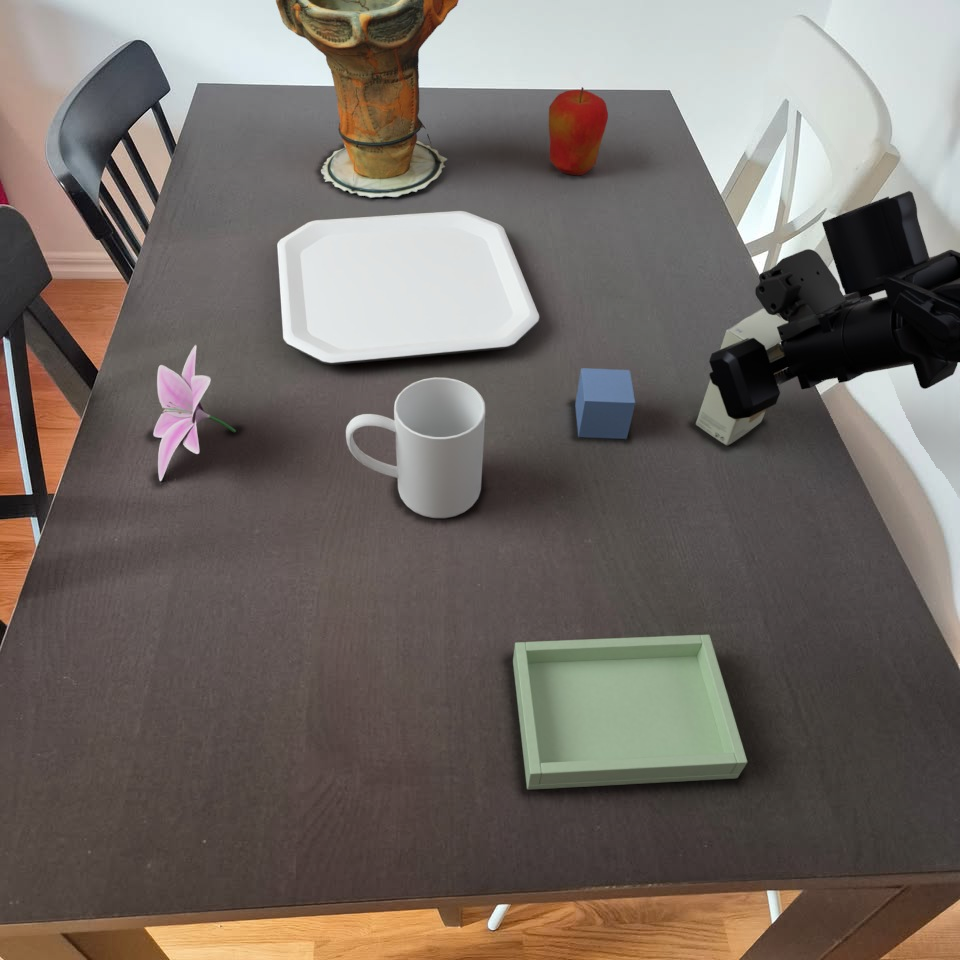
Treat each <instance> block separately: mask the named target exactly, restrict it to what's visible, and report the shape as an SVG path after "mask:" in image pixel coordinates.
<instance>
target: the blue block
mask: <svg viewBox="0 0 960 960" xmlns="http://www.w3.org/2000/svg"><path fill="white" fill-rule="evenodd" d="M574 405H575V416H576V428H577V429H576V430H577V436H578V438H587V439H588V438H591V439H615V440H618V439H619V440H627V439H628V435H629V431H630V428H631V423H632V419H633V415H634V410H635V406H636V398H635V392H634V385H633V380H632V374H631V370H630V369H612V368H587V367H581V368H580V374H579V379H578V385H577V391H576V398H575V404H574Z"/></svg>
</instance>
